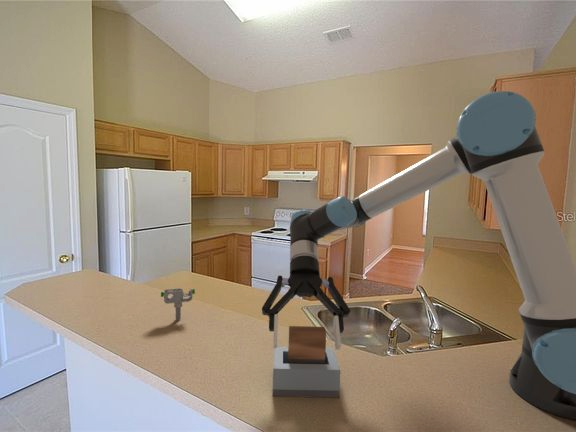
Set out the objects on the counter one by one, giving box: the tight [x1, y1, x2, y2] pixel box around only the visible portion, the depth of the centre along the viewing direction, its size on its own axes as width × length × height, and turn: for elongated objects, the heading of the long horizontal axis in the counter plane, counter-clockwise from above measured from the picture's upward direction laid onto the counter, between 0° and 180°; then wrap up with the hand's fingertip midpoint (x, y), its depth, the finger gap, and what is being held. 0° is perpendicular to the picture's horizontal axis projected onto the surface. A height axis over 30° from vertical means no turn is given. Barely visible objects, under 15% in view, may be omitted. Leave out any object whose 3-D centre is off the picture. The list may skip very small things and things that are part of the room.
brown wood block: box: [287, 325, 327, 364], centre depth 67 cm, size 3×8×11 cm, turn 91°
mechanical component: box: [160, 287, 196, 322], centre depth 98 cm, size 3×10×10 cm, turn 112°
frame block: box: [272, 346, 341, 398], centre depth 68 cm, size 9×14×6 cm, turn 91°
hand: (306, 347), depth 65 cm, fingers open, 13 cm apart
